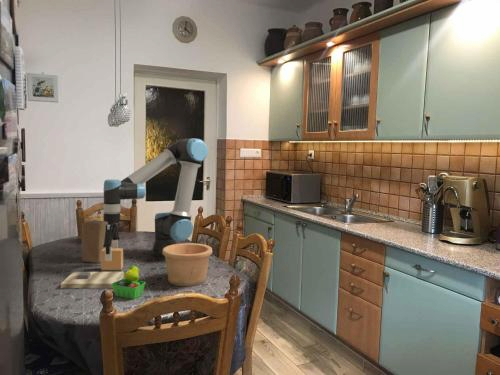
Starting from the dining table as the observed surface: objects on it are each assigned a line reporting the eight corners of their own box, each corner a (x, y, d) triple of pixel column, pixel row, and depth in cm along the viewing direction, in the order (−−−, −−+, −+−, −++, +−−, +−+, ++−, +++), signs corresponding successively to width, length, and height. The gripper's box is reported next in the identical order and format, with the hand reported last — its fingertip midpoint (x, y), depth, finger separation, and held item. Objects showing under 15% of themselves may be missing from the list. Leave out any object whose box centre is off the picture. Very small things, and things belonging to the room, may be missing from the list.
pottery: (217, 275, 186) (218, 245, 185) (201, 291, 165) (202, 257, 164) (174, 270, 191) (175, 241, 190) (153, 285, 170) (153, 252, 169)
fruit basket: (110, 296, 157) (110, 268, 156) (125, 289, 165) (125, 262, 164) (134, 301, 153) (134, 272, 152) (148, 293, 161) (148, 266, 160)
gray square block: (90, 276, 174) (90, 272, 174) (87, 278, 170) (87, 275, 170) (80, 276, 174) (80, 272, 174) (77, 279, 170) (77, 275, 170)
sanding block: (123, 268, 193) (123, 248, 192) (121, 271, 188) (120, 250, 187) (103, 268, 192) (103, 248, 191) (101, 271, 187) (101, 250, 186)
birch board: (123, 275, 182) (123, 271, 182) (115, 288, 166) (115, 283, 166) (73, 276, 179) (73, 271, 179) (60, 288, 163) (60, 283, 163)
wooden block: (99, 263, 199) (98, 224, 198) (81, 262, 201) (80, 223, 200) (110, 258, 209) (109, 220, 207) (92, 256, 211) (92, 219, 209)
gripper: (110, 208, 199) (109, 250, 201) (96, 216, 174) (96, 264, 176) (125, 208, 200) (124, 250, 202) (114, 217, 175) (113, 264, 177)
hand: (111, 256), depth 189 cm, fingers open, 13 cm apart
